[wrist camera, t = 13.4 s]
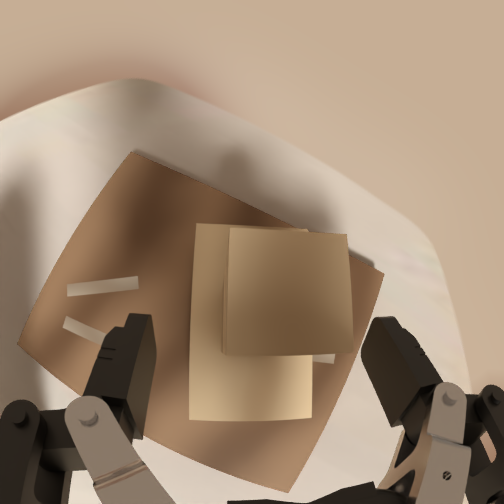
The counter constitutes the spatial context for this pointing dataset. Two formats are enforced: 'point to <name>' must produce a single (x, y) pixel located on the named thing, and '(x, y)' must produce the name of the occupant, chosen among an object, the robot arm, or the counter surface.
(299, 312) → the block
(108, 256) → the board
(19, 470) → the robot arm
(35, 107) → the counter surface
